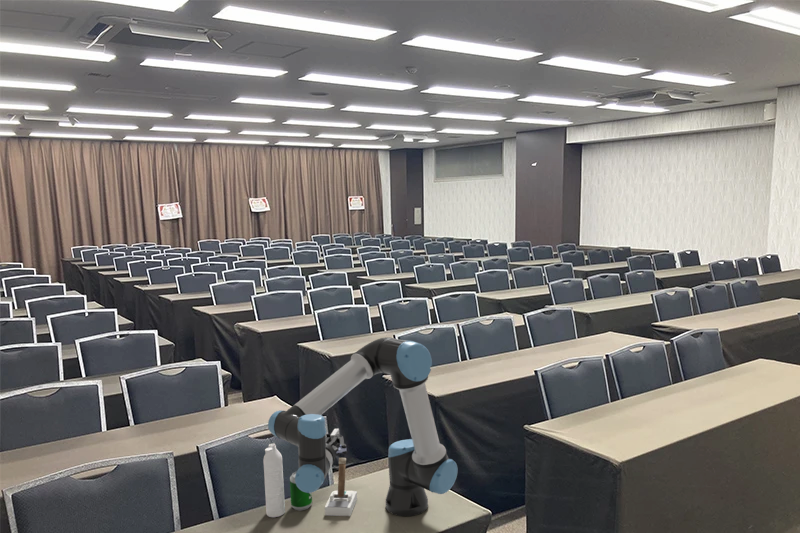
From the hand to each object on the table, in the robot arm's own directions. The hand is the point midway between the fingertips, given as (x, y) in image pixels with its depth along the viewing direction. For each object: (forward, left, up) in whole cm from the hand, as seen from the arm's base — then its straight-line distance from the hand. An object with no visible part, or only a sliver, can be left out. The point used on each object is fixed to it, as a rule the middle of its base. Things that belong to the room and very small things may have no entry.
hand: (337, 432), depth 190 cm
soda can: (+19, -5, -32) cm, 37 cm away
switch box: (+5, -9, -31) cm, 33 cm away
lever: (+5, -9, -27) cm, 29 cm away
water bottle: (+25, +3, -32) cm, 40 cm away
